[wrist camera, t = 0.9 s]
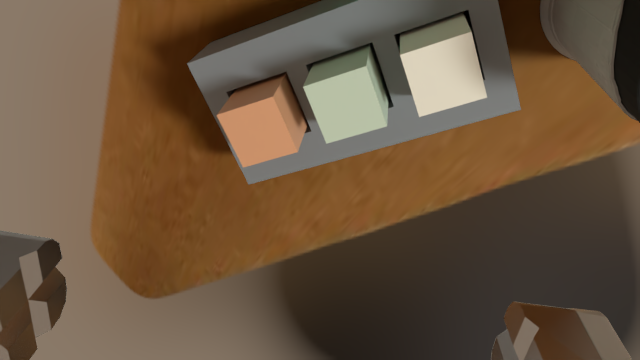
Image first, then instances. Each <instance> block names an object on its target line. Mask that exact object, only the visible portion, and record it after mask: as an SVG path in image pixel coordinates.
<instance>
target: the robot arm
mask: <svg viewBox="0 0 640 360" xmlns="http://www.w3.org/2000/svg"><path fill="white" fill-rule="evenodd" d="M61 259H62V255H61V250H60V245H59V243H58V242H57V241H55V240H54V239H50V238H44V237H37V236H30V235H24V234H18V233H12V232H6V231H0V360H29V359H30V358H31V357H32V355H33V354H34V353H35V351H36V350H37V344H36V337H38V336H40V335H42V334H44V333H46V332H48V331H49V330H51V329H52V328H53V326H54V325H55V323H56V322H57V321H58V319H59V318H60V316H61V313H62V310H63V307H64V305H65V302H66V292H67V287H66V279H65V277H64V276H63V275H62V274H61V273H60V272H59V271H58V269H57V268H56V265H57V264H58V263H59V262H60V260H61ZM504 321H505V323H506V326H507V330H506V331H504V332H503V333H501V334H500V335H498V336H497V337H496V340H495V343H494V346H493V349H492V355H491V360H632V359H631V357H630V356H629V354H628V352H627V351H626V349H625V347H624V346H623V344H622V342H621V341H620V339H619V337H618V336H617V334H616V332H615V331H614V329H613V328H612V326H611V324H610V323H609V321H608V319H607V318H606V316H604V315H603V314H602V313H600V312H599V311H591V310H582V309H573V308H570V309H566V308H559V307H550V306H543V305H536V304H528V303H519V302H512V304H511V305H510V306H509V307H508V309H507V311H506V314H505V316H504Z"/></svg>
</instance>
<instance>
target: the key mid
mask: <svg viewBox="0 0 640 360" xmlns="http://www.w3.org/2000/svg"><path fill="white" fill-rule="evenodd" d="M303 88H304V91H305V93H306V96H307V98H308V100H309V103H310V105H311V108H312V110H313V112H314V115H315V117H316V120H317V122H318V125H319V127H320V129H321V132H322V134H323V137H324V139H325V141H326V144H327V143H331V142H334V141H338V140H341V139H345V138H348V137H352V136H355V135H359V134H362V133H366V132H369V131H373V130H376V129H380V128H383V127H387V120H388V100H389V91H388V88H387V85H386V82H385V79H384V76H383V73H382V70H381V67H380V64H379V61H378V58H377V55H376V52H375V49H374V46H373V43H369V44H366V45H363V46H360V47H357V48H354V49H351V50H348V51H345V52H342V53H339V54H336V55H333V56H330V57H328V58H325V59H322V60H319V61H316V62H314V63H313V65H312V68H311V70H310V72H309V74H308V77H307V79H306V81H305V83H304V85H303Z"/></svg>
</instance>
